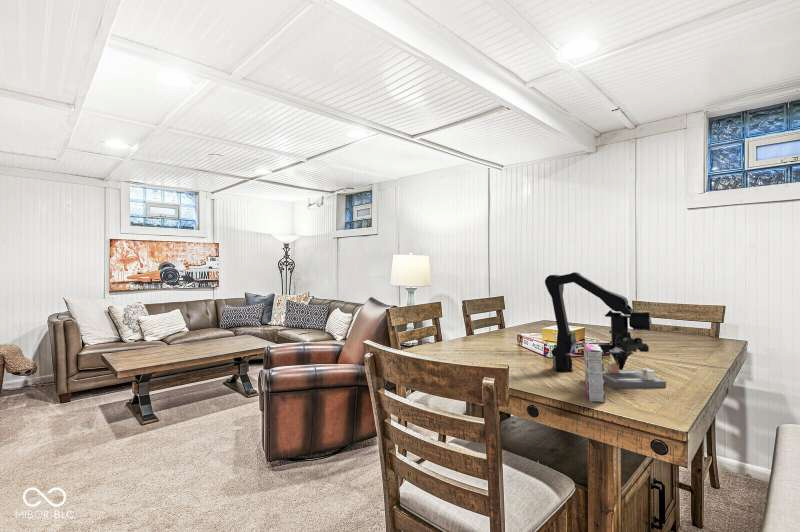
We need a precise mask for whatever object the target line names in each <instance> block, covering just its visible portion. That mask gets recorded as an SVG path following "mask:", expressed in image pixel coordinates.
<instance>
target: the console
mask: <svg viewBox="0 0 800 532" xmlns="http://www.w3.org/2000/svg"><path fill="white" fill-rule="evenodd" d="M604 384H606V385H608V386H609V385H610V386H609V387H611V388H612V389H639V388H640V389H641V388H643V389H644V388H648V389H649V388H650V389H651V388H667V381H666V380H664V379H661V378H659V377H657V376H655V380H646V379H644V378H642V370H640V369H628V370H627V369H625V370H624V369H623V370H619V373H611V372H609V371H608V370H604Z"/></svg>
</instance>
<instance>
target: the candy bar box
mask: <svg viewBox="0 0 800 532" xmlns="http://www.w3.org/2000/svg"><path fill="white" fill-rule="evenodd" d="M583 357H584V381H585V393H586V396H587V399H588V402H590V401H593V402H592V403H601V404H602V403H604V404H605V403H606V398H605V397H606V393H605V383H604V371H605V370H604V367H605V366H604V353H603V351H602V349H601V347H600V346H599V344H594V343H584V344H583Z"/></svg>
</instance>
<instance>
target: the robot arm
mask: <svg viewBox="0 0 800 532" xmlns="http://www.w3.org/2000/svg"><path fill="white" fill-rule="evenodd" d="M571 283H573V284H575V285H578V286H579V287H581V289H582V288H583V290H585V291H587V292H589V293H591V294H592V295H593V296H596V297H597V298H599V299H600V300H601V301H602V302H603V303H604V304H605V305H606V306H607V307H608V308H609V309H610V310H608V312H607V313H606V314H604V316H605V318H610V330H609V334H611V335H610V337H611V340H609V344H608V343H605V342H593V344H599V346H600V347H601V349H602V351H603V354H604V353H605V354H606V353H610V355H611V356H612V358H613V360H614V361H615V362H614V363H617V364H618V365H619V370H624V367H625V364H626V362H627V360H628V358H629V356H631V355H634V353H637V351H639V352H640V353H646V352H650V351H649V350H650V348H649V347H650V346H649V345H648V344H647V343H645V342H643V339H642V338H641V337H634V338H633V337H632V334H631V332H629V327H630V328H632V330H633V331H647V332H648V331H649V332H651V331H652V319H651V312H649V311H639V312H638V311H634V310H633V308H632V307H631V306H630V305H629V300H628V299H627V298H626V297H625V296H623V295H621V294H618V293H616V292H614V291H610V290H608V289H605V288H604V287H602V286H601V285H599V284H597V283H595V282H594V281H592V280H590V279H588V278H587V277H585V276H583V275H582V274H581V273H580V272H571V273H567V274H562V275H560V274H549V275H548V276H546V277H545V279H544V284H545V287H546V289H547V292H548V294H549V295H550V297H551V302H552V307H553V311H554V312H553V313H554V316H555V317H554V319H555V322H556V326H557V327H556V329H557V335H556V346H555V347H554V348H553V349H552V350H551V355H552V366H551V369H552V370H554V371H555V372H560V373H561V372H563V373H564V372H573V359H572V358H571V352H572V351H573V350H574V349H575V348H576V345H577V343H578V341H577V339H576V333H575V332H572V331H571V330H570V328H569V321H568V317H567V311H566V306H565V301H564V297H563V295H564V288H565V287H564V286H565V285H567V284H571ZM613 311H614V312H613Z"/></svg>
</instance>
